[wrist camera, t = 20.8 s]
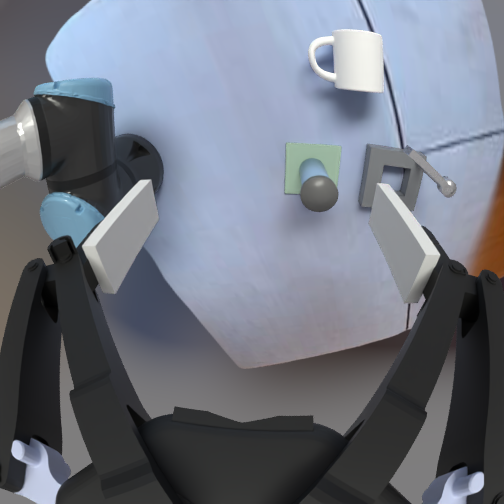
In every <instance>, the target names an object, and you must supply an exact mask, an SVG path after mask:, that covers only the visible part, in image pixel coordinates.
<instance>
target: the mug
mask: <svg viewBox="0 0 504 504" xmlns="http://www.w3.org/2000/svg"><path fill="white" fill-rule="evenodd" d="M324 45H333V58H334V73H330V72H326V71H324V70H322V69H321V68H320V67H319V66H318V65H317V63H316V60H315V51H316V49H317V48H319V47H321V46H324ZM308 57H309V62H310V65H311V67H312V69H313V70H314V72H315V73H316V74H317V75H318V76H319V77H321V78H323V79H325V80H327V81H331V82H334V83H335V88H338V89H344V90H353V91H362V92H372V93H383V92H384V68H383V43H382V36H381V35H379V34H377V33H373V32H368V31H362V30H335V31H333V32H332V36H328V37H321V38H318V39H316V40H314V41H313V42H312V43H311V44H310V46H309V49H308Z"/></svg>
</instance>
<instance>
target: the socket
mask: <svg viewBox="0 0 504 504" xmlns="http://www.w3.org/2000/svg"><path fill="white" fill-rule="evenodd" d="M403 150H404V149H399V148H393V147H387V146H380V145H372V144H367V149H366V156H365V163H364V170H363V176H362V183H361V189H360V194H359V200H358V201H359V203H360V205H361V206H362V207H372V205H373V201H374V196H375V191H376V185H377V183H381V178H382V173H383V167H384V165H388V166H396V167H403V168H405V172H404V176H403V181H402V186H401V190H400V191H395V190H394V191H395V193H396V194H397V195H398V196H399V198H400V199H401V200H402V202H403V203H404V204H405V205H406V207H407V208H408V209H409V211H414V207H415V204H416V200H417V196H418V192H419V188H420V184H421V180H422V176H423V172H424V173H426V174H427V175H428V176H429V177H430V178H431V179H432V180H433V181H434V182H436V181H435V180H434V179H433V178H432V177H431V176H430V175H429V174H428V173H427V172H426V171H425V170H424V169H423V168H422V167H420V166H419V165H418V164H417V163H416V162H415V161H414V160H413V159H411V158H410V157H409V156H408V155H407V154H406V153H404V152H403ZM417 153H418V154H419V155H420V156H421V157H422V158H423V159H424V160H426V158H427V156H425V155H424V154H422V153H421V152H417ZM436 183H437V182H436Z"/></svg>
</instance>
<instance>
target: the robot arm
mask: <svg viewBox="0 0 504 504" xmlns="http://www.w3.org/2000/svg"><path fill="white" fill-rule="evenodd" d="M34 96H35V97H32V98H29V99H26V100H24V101H22V103H21V104H20V106H19V107H18V109H17V111H16V112H15V114H14V115H13V116H11V117H8V118H6V119H3V120H1V121H0V189H1V188H3V187H5V186H7V185H9V184H11V183H13V182H15V181H16V180H18V179H20V178H22V177H28V178H30V179H32V180H34V181H36V182H38V181H41V180H43V179H45V178H46V181H47V185H48V190H49V195H47V196H46V197H45V198H44V200H43V202H42V206H41V208H40V217H41V221H42V224H43V226H44V228H45V230H46V232H47V233H48V234H49V236H50V237H51V238H52V239H53V240H54V241H53V242H51V244H50V245H49V246H48V252H49V254H50V256H51V258H52V260H53V262H54V264H52V265H48V266H46V265H45V263H44V261H43V259H41V258H37V259H35V260H32V261H31V262H29V263H28V264H27V265H26V266H25V268H24V270H23V272H22V275H21V278H20V281H19V283H18V286H17V290H16V293H15V296H14V299H13V302H12V306H11V309H10V313H9V317H8V320H7V324H6V328H5V333H4V337H3V342H2V347H1V352H0V488H2V489H5V490H8V491H10V492H13V493H16V494H19V495H22V496H25V497H27V498H29V499H31V500H32V501H34V502H36V503H37V504H411V503H410V502H409V501H408V500H407V499H406V498H405V497H404V496H403V495H402V494H401V493H400V492H398V491H397V490H396V489H395V488H394V487H393V486H392V485H391V484H390V483H389V481H390V480H391V478H392V477H393V475H394V474H395V472H396V471H397V469H398V468H399V466H400V465H401V463H402V461H403V460H404V458H405V457H406V455H407V453H408V451H409V450H410V448H411V446H412V444H413V443H414V441H415V439H416V437H417V436H418V434H419V432H420V430H421V428H422V426H423V424H424V422H425V419H426V417H427V412H426V411H425V407H426V405H427V402H428V400H429V398H430V396H431V394H432V391H433V389H434V387H435V384H436V382H437V379H438V377H439V375H440V372H441V370H442V367H443V364H444V362H445V359H446V356H447V353H448V350H449V347H450V344H451V341H452V338H453V335H454V332H455V328H456V325H457V341H456V360H455V372H454V382H453V390H452V398H451V404H450V410H449V416H448V421H447V426H446V431H445V435H444V440H443V444H442V448H441V452H440V456H439V461H438V466H437V473H436V479H435V480H434V481H433V482H432V483H431V484H430V486H429V487H428V489H427V490H426V491H425V492H424V493H423V495H422V500H423V503H422V504H504V292H503V288H502V284H501V281H500V279H499V278H498V277H497V275H496V274H495V273H494V272H491V271H489V270H482V271H481V273H480V275H479V276H478V277H475V276H472V275H468V272H467V270H466V268H465V267H464V266H463V265H462V264H461V263H459V262H458V261H455V260H450V259H449V257H448V256H447V254H446V253H445V251H444V250H443V248H442V247H441V245H439V242H438V241H437V240H436V238H435V237H434V235H433V234H432V232H430V231H429V230H428V229H427V228H426V227H424V226H420V224H419V223H418V221H417V220H416V219H415V217H414V216H413V215H412V213H411V212H410V211H409V209H408V208H407V207H406V205H405V204H404V203H403V202H402V200H401V199H400V198H399V196H398V195H397V194H396V193H395V191H394V190H393V189H392V188H391V187H390V185H389V184H382V183H377V185H376V191H375V196H374V201H373V205H372V210H371V215H370V219H369V225H370V227H371V229H372V231H373V234H374V236H375V238H376V240H377V242H378V244H379V246H380V248H381V250H382V252H383V255H384V257H385V259H386V261H387V263H388V266H389V268H390V270H391V273H392V275H393V277H394V280H395V282H396V284H397V287H398V289H399V292H400V294H401V297H402V299H403V302H404V303H418V301H419V299H420V298H421V296H422V294H424V297H425V299H426V300H425V302H424V304H423V306H422V307H421V309H420V311H419V313H418V315H417V319H416V321H415V323H414V325H413V327H412V329H411V331H410V333H409V335H408V337H407V339H406V341H405V343H404V345H403V347H402V349H401V351H400V352H399V354H398V356H397V358H396V359H395V361H394V363H393V365H392V366H391V368H390V370H389V371H388V373H387V375H386V376H385V378H384V380H383V382H382V383H381V385H380V386H379V388H378V389H377V391H376V392H375V394H374V396H373V397H372V398H371V400H370V401H369V403H368V404H367V406H366V407H365V409H364V410H363V412H362V413H361V414H360V416H359V417H358V418H357V420H356V421H355V422H354V423H353V425H352V426H351V427H350V428H349V429H348V431H347V432H346V433H345V434H344V435H343V436H342V435H341V434H339V433H338V432H336V431H335V430H333V429H331V428H328V427H326V426H323V425H320V424H316V423H313V416H276V417H272V418H267V419H262V420H257V421H251V422H244V423H241V422H237V421H234V420H231V419H228V418H225V417H222V416H219V415H216V414H213V413H211V412H208V411H201V410H194V409H187V408H180V407H175V408H174V412H173V414H168V415H163V416H160V417H156V418H154V419H151V418H150V416H149V415H148V414H147V412H146V411H145V409H144V408H143V406H142V404H141V402H140V400H139V398H138V396H137V394H136V392H135V390H134V388H133V386H132V383H131V381H130V379H129V377H128V375H127V372H126V370H125V368H124V365H123V363H122V361H121V358H120V356H119V354H118V351H117V348H116V346H115V343H114V341H113V338H112V336H111V333H110V330H109V327H108V325H107V322H106V319H105V316H104V313H103V310H102V307H101V304H100V300H99V297H98V294H97V292H96V290H95V288H96V287H97V285H98V284H99V286H100V288H101V290H102V292H104V293H112V294H116V292H117V290H118V289H119V287H120V285H121V283H122V281H123V279H124V278H125V276H126V274H127V272H128V270H129V269H130V267H131V265H132V263H133V261H134V260H135V258H136V256H137V255H138V253H139V251H140V250H141V248H142V246H143V245H144V243H145V241H146V240H147V238H148V236H149V235H150V233H151V231H152V230H153V228H154V227H155V225H156V223H157V222H158V220H159V215H158V211H157V206H156V201H155V196H154V194H155V193H156V192H157V190H158V189H159V187H160V185H161V183H162V179H163V164H162V160H161V158H160V155H159V153H158V152H157V150H156V149H155V147H154V146H153V145H152V144H151V143H150V142H149V141H147V140H146V139H144V138H142V137H140V136H137V135H133V134H123V135H119V136H117V137H115V127H114V108H115V105H114V104H113V88H112V84H111V83H110V82H109V81H108V80H107V79H104V78H82V79H71V80H63V81H57V82H50V83H45V84H41V85H38V86H37V87H36V88H35V92H34ZM61 333H62V335H63V340H64V346H65V351H66V355H67V360H68V364H69V368H70V373H71V377H72V380H73V384H74V390H71V391H70V400H71V404H72V407H73V410H74V413H75V417H76V419H77V423H78V425H79V428H80V431H81V434H82V437H83V440H84V442H85V444H86V447H87V450H88V452H89V455H90V457H91V460H92V463H91V464H89V465H88V466H87V467H85V468H84V469H82V470H81V471H80V472H78V473H77V474H75V475H74V476H72V477H71V478H70V479H68V477H69V476H70V474H71V470H70V467H69V466H68V464H66V463H65V461H64V459H63V457H62V427H61V414H60V387H59V385H60V381H59V380H60V378H59V377H60V376H59V375H60V348H61Z"/></svg>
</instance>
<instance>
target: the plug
mask: <svg viewBox="0 0 504 504" xmlns="http://www.w3.org/2000/svg"><path fill="white" fill-rule="evenodd" d="M299 173H300V178H301V183H302V187H301V190H300V196H301V200H302V203H303V204H304V206H305V207H306V208H308V209H309V210H311V211H314V212H323V211H326V210H329V209H330V208H332V207H333V206H334V205H335V203H336V202H337V199H338V189H337V187H336V185H335V183H334V182H333V181H332V180H331V179H330V178H329V176H328V174H327V171H326V169H325V167H324V165H323V163H322V162H321V161H320V160H318V159H315V158H309V159H306V160H304V161H303V162H302V163H301V165H300V168H299Z"/></svg>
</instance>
